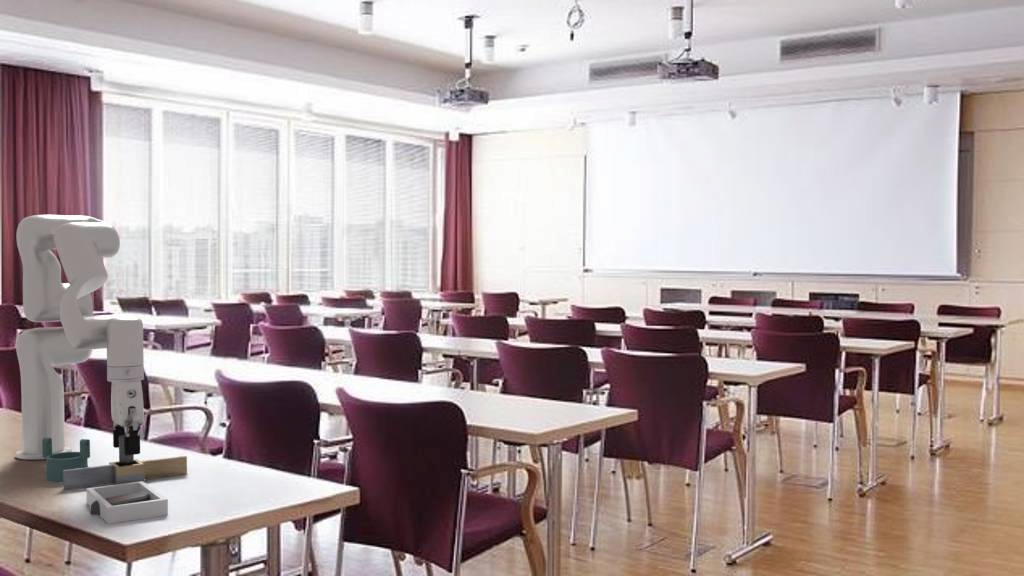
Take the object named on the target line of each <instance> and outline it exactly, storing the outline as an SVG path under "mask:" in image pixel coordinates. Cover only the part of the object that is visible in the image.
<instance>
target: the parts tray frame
mask: <svg viewBox="0 0 1024 576" xmlns="http://www.w3.org/2000/svg"><path fill="white" fill-rule="evenodd" d="M85 488H86V504H87V505H88V506H89V507H90V508H91V505H92V503H93V502H94V501H96V500H97V501H98V503H99V506H100V516H99V517H101V519H103V520H104V521H105V522H106V523H107V524H116V523H121V522H127V521H136V520H141V519H147V518H149V519H150V518H155V517H160V516H161V517H162V516H167V515H168V514H169V506H168V505H169V501H168V498H166V497H165V496H164V495H162V494H161V493H160V492H159V491H157V490H155V489H154V488H153V487H152V486H151V485H149V484H147V483H146V481H145V482H143V481H140V482H132V483H125V484H117V485H115V484H108V485H101V486H93V487H85ZM136 491H141V492H145V493H148V494H149V496H150V501H143V502H136V503H129V504H121V505H114V506H112V505H111V504H110V503H108V502H107V501H106V500H105V498H110V497H115V496H119V495H124V494H129V493H133V492H136Z"/></svg>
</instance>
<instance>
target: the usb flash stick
mask: <svg viewBox="0 0 1024 576" xmlns="http://www.w3.org/2000/svg"><path fill="white" fill-rule="evenodd" d="M105 500H106V501H107V502H108V503H110V504H111V505H112V506H114V505H121V504H129V503H136V502H143V501H150V496H149V494H148V493H145V492H141V491H136V492H133V493H129V494H124V495H119V496H115V497H110V498H105ZM90 514H92V515H96V516H99V517H101V516H100V506H99V503H98V501H97V500H96V501H94V502H93V503H92V505H91V507H90Z"/></svg>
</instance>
